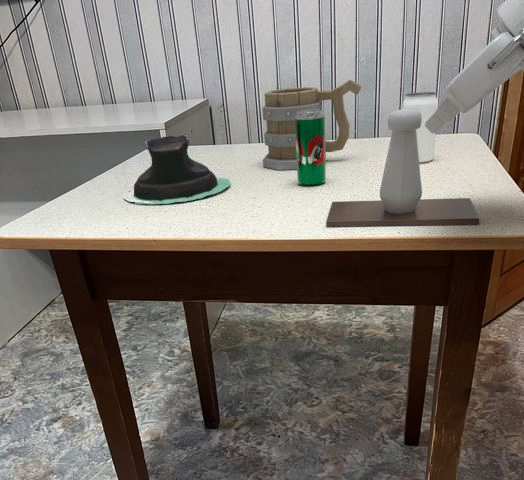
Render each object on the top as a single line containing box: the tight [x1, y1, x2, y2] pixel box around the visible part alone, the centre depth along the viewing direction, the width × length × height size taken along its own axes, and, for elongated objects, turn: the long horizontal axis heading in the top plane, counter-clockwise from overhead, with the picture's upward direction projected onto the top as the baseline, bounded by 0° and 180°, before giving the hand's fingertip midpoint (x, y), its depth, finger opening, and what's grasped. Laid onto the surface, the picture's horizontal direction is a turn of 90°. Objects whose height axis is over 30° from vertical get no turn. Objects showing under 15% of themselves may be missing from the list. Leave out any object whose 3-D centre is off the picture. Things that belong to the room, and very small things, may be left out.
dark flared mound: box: [133, 134, 231, 205], centre depth 98 cm, size 15×19×20 cm
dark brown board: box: [325, 197, 481, 228], centre depth 76 cm, size 20×10×1 cm, turn 79°
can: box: [401, 91, 439, 164], centre depth 103 cm, size 6×6×12 cm
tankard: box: [262, 79, 363, 171], centre depth 109 cm, size 20×13×15 cm, turn 80°
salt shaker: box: [379, 108, 423, 214], centre depth 73 cm, size 6×6×13 cm
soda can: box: [295, 109, 327, 187], centre depth 94 cm, size 5×5×12 cm
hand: (437, 122), depth 69 cm, fingers open, 8 cm apart
